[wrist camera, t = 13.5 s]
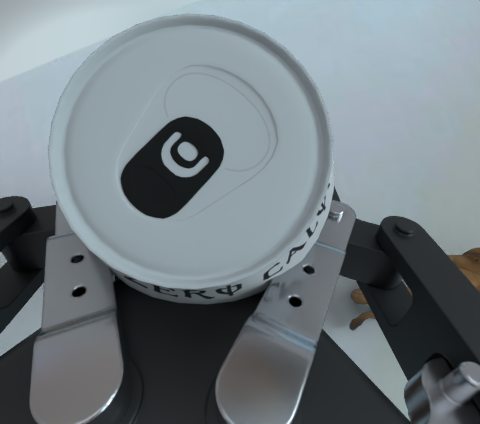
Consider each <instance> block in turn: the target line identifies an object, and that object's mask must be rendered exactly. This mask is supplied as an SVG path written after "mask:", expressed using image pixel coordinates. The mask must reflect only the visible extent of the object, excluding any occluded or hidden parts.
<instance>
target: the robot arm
mask: <svg viewBox="0 0 480 424" xmlns="http://www.w3.org/2000/svg"><path fill="white" fill-rule="evenodd" d="M0 252H2V253H3V255H4V256H5V258H6V259H7V261H8V262H7V263H5V264H4V265H3V266H2V267H1V268H0V334H1V332H2V331H3V330H4V329H5V328H6V326H7V325H8V324H9V323H10V322H11V320H12V319H13V318H14V317H15V316H16V315H17V313H18V312H19V311H20V310H21V309H22V307H23V306H24V305H25V304H26V303H27V302H28V300H29V299H30V298H31V297H32V296H33V294H34V293H35V292H36V291H37V290H38V288H39V287H40V286H41V285H42V284H43V283H44V294H43V310H42V326H41V328H40V329H38V330H37V331H36V332H34V333H33V334H31V335H30V336H29V337H27V338H26V339H24V340H23V341H21V342H20V343H19V344H17V345H16V346H14V347H13V348H11V349H10V350H9V351H7V352H6V353H4V354H3V355H2V356H0V424H480V292H479V291H478V290H477V289H476V287H475V286H474V285H473V284H472V283H471V282H470V281H469V280H468V278H467V277H466V276H465V275H464V274H463V273H462V272H461V271H460V269H459V268H458V267H457V266H456V265H455V264H454V263H453V261H452V260H451V259H450V258H449V257H448V256H447V255H446V254H445V252H444V251H443V250H442V249H441V248H440V247H439V246H438V245H437V243H436V242H435V241H434V240H433V239H432V238H431V237H430V236H429V234H428V233H427V232H426V231H425V230H424V229H423V228H422V227H421V226H420V225H419V224H417V223H416V222H414V221H412V220H410V219H407V218H404V217H399V216H389V217H386V218H384V219H383V220H382V222H381V224H380V225H376V224H372V223H368V222H365V221H361V220H359V219H356V214H355V212H354V210H353V209H352V208H351V207H349V206H348V205H346V204H344V203H342V202H341V201H340V199H339V197H338V194H337V192H336V189H335V187H334V191H333V196H332V200H331V205H330V210H329V214H328V217H327V219H326V221H325V223H324V226H323V228H322V230H321V233H320V235H319V237H318V239H317V240H316V242H315V243H314V245H313V246H312V248H311V249H310V250H309V252H308V253H307V255H306V256H305V257H304V259H303V260H302V261H301V262H299V263H298V264H296V265H295V266H294V267H292V268H290V269H289V270H287V271H286V272H284V273H283V274H281V275H279V276H276V277H274V278H272V280H271V282H270V284H269V286H268V288H267V289H265V290H264V291H262V292H260V293H258V294H255V295H252V296H250V297H247V298H243V299H240V300H236V301H232V302H223V303H215V304H188V303H177V302H172V301H167V300H163V299H158V298H154V297H151V296H149V295H147V294H144V293H142V292H140V291H138V290H136V289H134V288H132V287H130V286H128V285H127V284H126V283H124V282H123V281H122V280H121V279H119V278H118V277H117V276H115V275H114V274H113V273H112V270H111V268H110V267H108V266H106V265H105V264H104V263H103V262H102V261H101V260H100V259H99V258H98V257H97V256H96V255H95V254H93V253H92V252H91V251H90V250H89V249H88V248H87V247H86V246H85V244H84V243H83V242H82V241H81V240H80V238H79V237H78V236H77V235H76V234H75V233H74V231H73V230H72V229H71V227H70V225H69V224H68V222H67V220H66V218H65V216H64V214H63V212H62V211H61V209H60V207H59V205H58V202H57V201H56V205H52V206H46V207H39V208H32V206H31V204H30V202H29V201H28V199H26V198H24V197H19V196H12V197H5V198H1V199H0ZM339 275H341V276H344V277H347V278H350V279H354V280H357V283H358V285H359V287H360V289H361V291H362V293H363V295H364V297H365V299H366V301H367V303H368V305H369V307H370V309H371V310H372V312H373V314H374V316H375V318H376V320H377V322H378V324H379V326H380V328H381V330H382V332H383V334H384V336H385V337H386V339H387V341H388V343H389V345H390V347H391V349H392V351H393V353H394V355H395V357H396V359H397V361H398V363H399V364H400V366H401V368H402V370H403V372H404V374H405V376H406V378H407V380H408V382H407V384H406V386H405V388H404V399H405V403H406V406H407V409H408V415H409V418H410V421H411V422H410V421H409V420H408V419H407V418H406V417H405V416H404V415H403V414H402V412H401V411H400V410H399V409H398V408H397V407H396V406H395V405H394V404H393V403H392V402H391V401H390V400H389V399H388V398H387V397H386V396H385V395H384V393H383V392H382V391H381V390H380V389H379V388H378V387H377V386H376V385H375V384H374V383H373V382H372V381H371V380H370V379H369V378H368V377H367V376H366V374H365V373H364V372H363V371H362V370H361V369H360V368H359V367H358V366H357V365H356V364H355V363H354V362H353V361H352V360H351V359H350V358H349V357H348V356H347V354H346V353H345V352H344V351H343V350H342V349H341V348H340V347H339V346H338V345H337V344H336V343H335V342H334V341H333V340H332V339H331V338H330V336H329V335H328V334H327V333H326V332H325V331H324V330H323V329H322V327H323V324H324V321H325V317H326V314H327V311H328V308H329V305H330V302H331V298H332V295H333V292H334V289H335V286H336V283H337V279H338V276H339ZM402 279H404V281H405V282H406V284H407V285H408V287H409V288H410V290H411V293H412V295H411V294H410V292H409V291H408V289H407V288H406V286H405V285H404V283H403V282H402Z"/></svg>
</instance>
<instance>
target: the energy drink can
mask: <svg viewBox="0 0 480 424" xmlns="http://www.w3.org/2000/svg"><path fill="white" fill-rule="evenodd" d="M48 157H49V169H50V178H51V182H52V185H53V189H54V192H55V196H56V199H57V202H58V205H59V207H60V209H61V211H62V212H63V214H64V216H65V218H66V220H67V222H68V224H69V225H70V227H71V229H72V230H73V231H74V233H75V234H76V235H77V236H78V237H79V238H80V240H81V241H82V242H83V243H84V244H85V246H86V247H87V248H88V249H89V250H90V251H91V252H92V253H93V254H95V255H96V256H97V257H98V258H99V259H100V260H101V261H102V262H103V263H104V264H105V265H106V266H108V267H110V268H111V270H112V273H113V274H114V275H115V276H117V277H118V278H119V279H121V280H122V281H123V282H124V283H126V284H127V285H128V286H130V287H132V288H134V289H136V290H138V291H140V292H142V293H144V294H147V295H149V296H151V297H154V298H158V299H163V300H167V301H172V302H177V303H188V304H215V303H223V302H232V301H236V300H240V299H243V298H247V297H250V296H252V295H255V294H258V293H260V292H262V291H264V290H265V289H267V288H268V286H269V284H270V282H271V280H272V278H274V277H276V276H279V275H281V274H283V273H284V272H286V271H287V270H289V269H290V268H292V267H294V266H295V265H296V264H298V263H299V262H301V261H302V260H303V259H304V257H305V256H306V255H307V253H308V252H309V250H310V249H311V248H312V246H313V245H314V243H315V242H316V240H317V239H318V237H319V235H320V233H321V230H322V228H323V226H324V223H325V221H326V219H327V217H328V214H329V210H330V205H331V200H332V196H333V191H334V161H333V137H332V132H331V126H330V121H329V116H328V112H327V109H326V107H325V104H324V102H323V99H322V97H321V94H320V92H319V89H318V88H317V86H316V85H315V83H314V81H313V80H312V78H311V77H310V75H309V74H308V72H307V71H306V69H305V68H304V66H303V65H302V64H301V63H300V62H299V61H298V60H297V59H296V58H295V57H294V56H293V55H292V54H291V53H290V52H289V51H288V50H287V49H286V48H285V47H284V46H282V45H281V44H280V43H278V42H277V41H275V40H274V39H272V38H271V37H270V36H268V35H267V34H265V33H264V32H262V31H259V30H257V29H255V28H253V27H251V26H248V25H246V24H244V23H242V22H239V21H235V20H231V19H227V18H223V17H219V16H215V15H201V14H181V15H173V16H164V17H159V18H156V19H153V20H150V21H146V22H143V23H140V24H136V25H134V26H133V27H131V28H129V29H127V30H125V31H123V32H121V33H119V34H117V35H115V36H113V37H112V38H110V39H109V40H108V41H107V42H105V43H104V44H103V45H102V46H100V47H99V48H98V49H96V50H95V51H94V52H93V53H91V54H90V56H89V57H88V58H87V59H86V60H85V61H84V62H83V64H82V65H81V66H80V67H79V68H78V69H77V70H76V72H75V73H74V74H73V76H72V77H71V79H70V81H69V83H68V84H67V86H66V88H65V89H64V91H63V93H62V95H61V96H60V99H59V102H58V105H57V108H56V111H55V114H54V117H53V119H52V122H51V130H50V137H49V145H48Z"/></svg>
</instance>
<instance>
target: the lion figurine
mask: <svg viewBox="0 0 480 424" xmlns="http://www.w3.org/2000/svg"><path fill="white" fill-rule="evenodd" d="M447 256H448V257H449V258H450V259H451V260H452V261H453V263H454V264H455V265H456V266H457V267H458V268H459V269H460V271H461V272H462V273H463V274H464V275H465V276H466V277H467V278H468V280H469V281H470V282H471V283H472V284H473V285H474V286H475V287H476V289H477V290H478V291H479V292H480V248H473V249H471V250H469V251H467V252H465V253H464V254H463V255H447ZM407 289H408V291H409V292H410V294H411V295H412V293H411V290H410V288H407ZM352 297H353V300H354V301H355V302H356V303H358V304H368V303H367V301H366V299H365V297H364V295H363V293H362V291H361V290H360V289H356V290H355V291H354V292H353V293H352ZM368 318H373V319H376V318H375V316H374V314H373V312H366V313H363V314H361V315H360V316H359V317H357V318H356V319H353V320H352V322H351V324H350V329H351V330H355V329H356V328H357V327H358V326H360V325H361V324H362V323H363V321H364V320H365V319H368Z"/></svg>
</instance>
